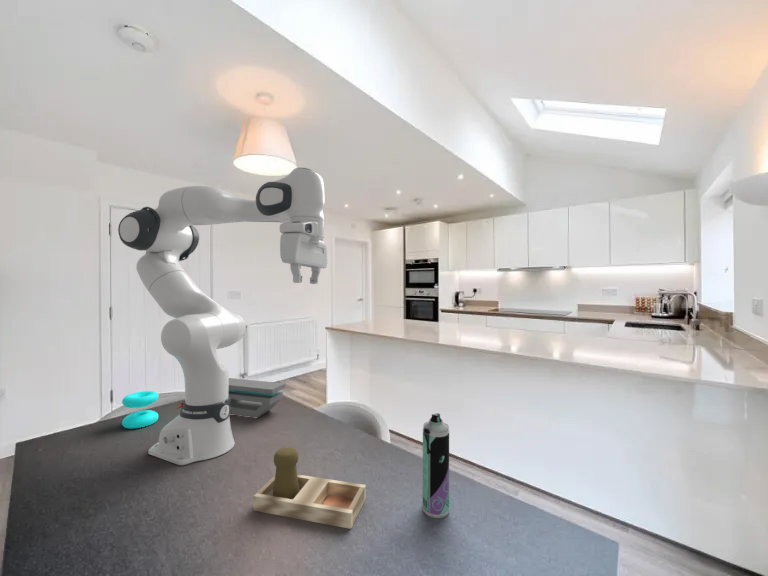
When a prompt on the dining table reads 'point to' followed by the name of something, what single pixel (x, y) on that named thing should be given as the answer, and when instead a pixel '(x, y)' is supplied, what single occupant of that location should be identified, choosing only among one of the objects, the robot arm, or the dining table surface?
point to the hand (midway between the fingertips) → (306, 283)
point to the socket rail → (315, 501)
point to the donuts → (140, 417)
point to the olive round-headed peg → (286, 473)
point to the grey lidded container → (253, 396)
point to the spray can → (436, 467)
